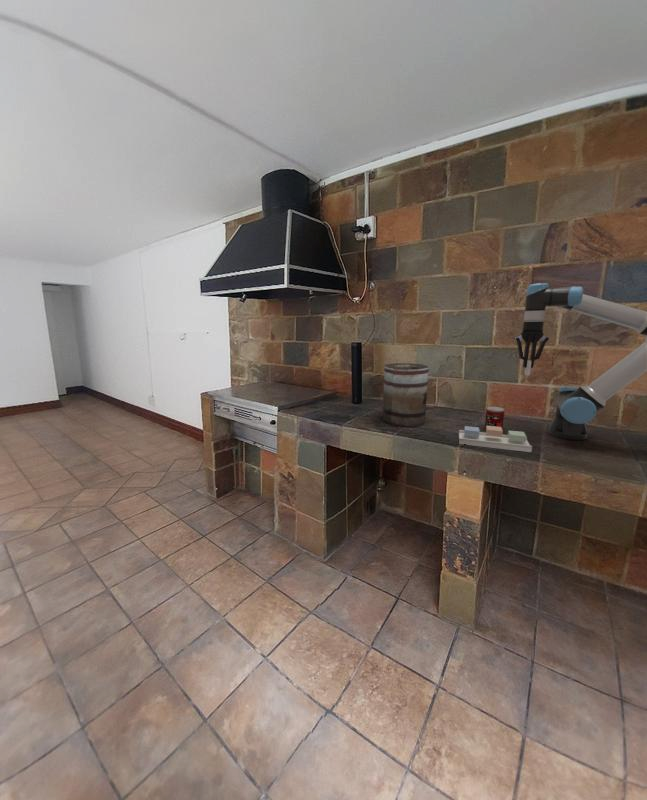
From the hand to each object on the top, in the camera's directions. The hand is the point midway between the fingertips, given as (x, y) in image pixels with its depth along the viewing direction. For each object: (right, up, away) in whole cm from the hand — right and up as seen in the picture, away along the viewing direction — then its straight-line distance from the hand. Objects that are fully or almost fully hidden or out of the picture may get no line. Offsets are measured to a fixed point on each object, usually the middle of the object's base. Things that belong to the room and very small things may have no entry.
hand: (527, 374), depth 151 cm
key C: (-25, -27, +1) cm, 37 cm away
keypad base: (-16, -31, -1) cm, 35 cm away
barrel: (-48, -23, +31) cm, 62 cm away
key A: (-8, -29, -5) cm, 30 cm away
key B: (-16, -27, -2) cm, 32 cm away
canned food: (-7, -26, +16) cm, 32 cm away
